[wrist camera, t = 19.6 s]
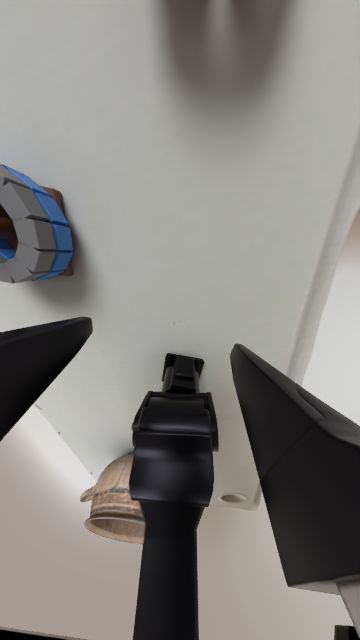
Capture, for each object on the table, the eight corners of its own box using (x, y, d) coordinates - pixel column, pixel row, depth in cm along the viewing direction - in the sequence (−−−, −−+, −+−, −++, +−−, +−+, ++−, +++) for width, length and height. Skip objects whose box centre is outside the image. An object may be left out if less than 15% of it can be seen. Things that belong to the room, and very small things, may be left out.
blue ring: (78, 283, 19) (66, 286, 18) (0, 269, 19) (-20, 271, 17) (63, 182, 15) (46, 172, 13) (-39, 162, 15) (-70, 150, 13)
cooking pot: (108, 468, 45) (81, 537, 34) (92, 434, 37) (51, 510, 26) (188, 475, 44) (187, 550, 33) (189, 441, 36) (189, 525, 25)
